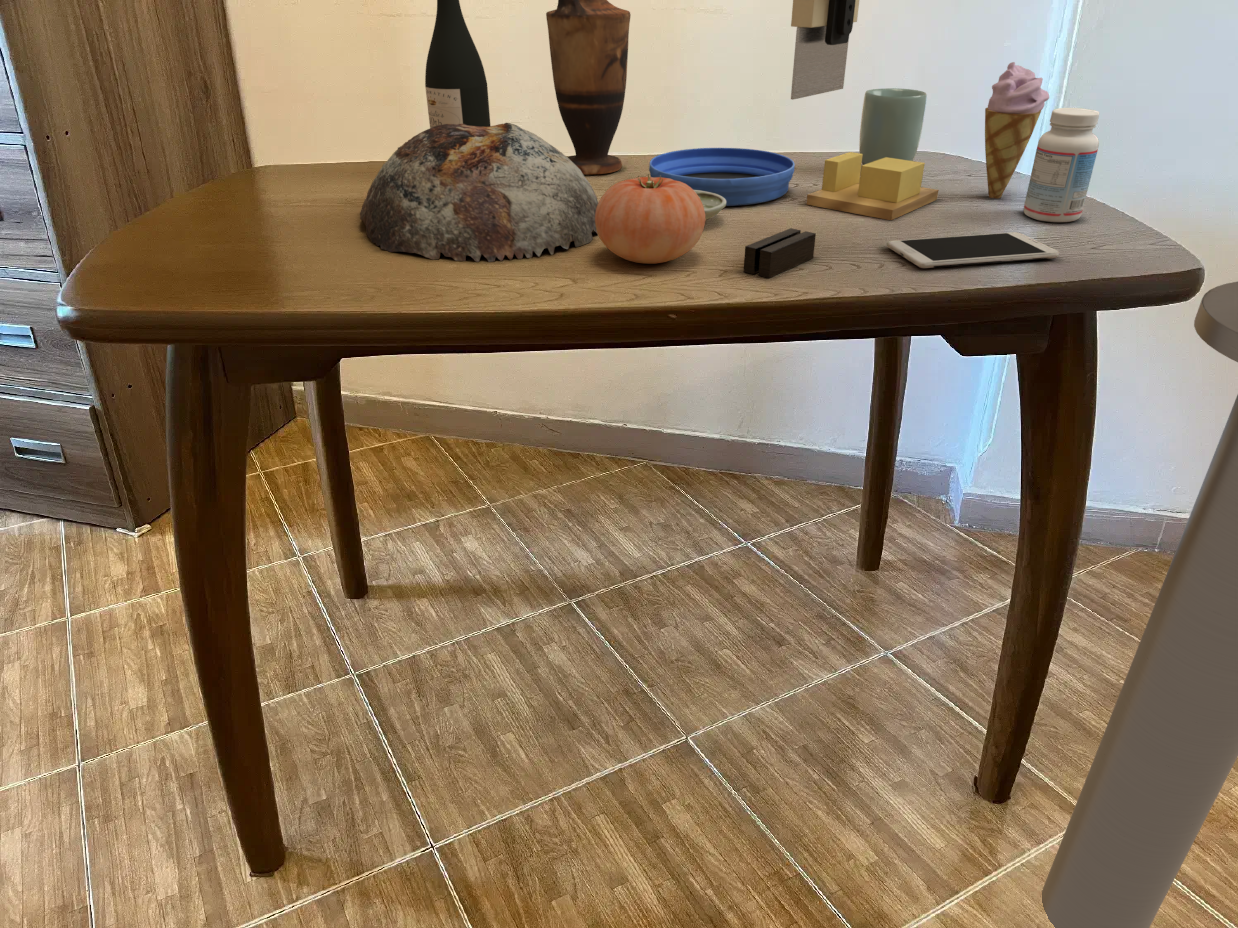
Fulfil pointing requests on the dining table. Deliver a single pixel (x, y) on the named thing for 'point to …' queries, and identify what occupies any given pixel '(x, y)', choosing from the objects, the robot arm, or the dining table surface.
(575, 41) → the vase
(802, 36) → the knife
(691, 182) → the bowl
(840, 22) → the robot arm
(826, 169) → the butter slice
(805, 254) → the knife holder
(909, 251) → the smartphone
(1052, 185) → the pill bottle
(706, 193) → the saucer
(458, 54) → the wine bottle
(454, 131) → the bread
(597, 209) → the tomato
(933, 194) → the board
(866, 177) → the butter block
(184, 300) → the dining table surface
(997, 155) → the ice cream cone
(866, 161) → the cup
